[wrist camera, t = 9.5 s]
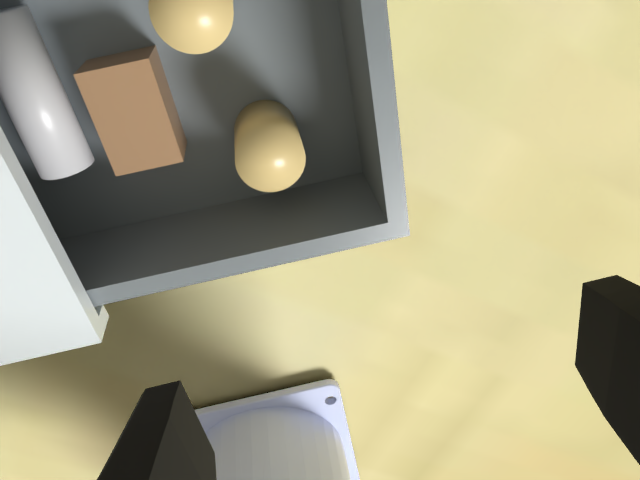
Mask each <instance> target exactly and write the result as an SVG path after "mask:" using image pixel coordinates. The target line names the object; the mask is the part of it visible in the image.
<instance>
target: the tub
mask: <svg viewBox="0 0 640 480" xmlns="http://www.w3.org/2000/svg"><path fill="white" fill-rule="evenodd" d="M0 126H1V128H2V130H3V132H4V134H5V136H6V138H7V140H8V142H9V144H10V146H11V148H12V150H13V152H14V153H15V155H16V157H17V159H18V161H19V163H20V165H21V167H22V169H23V171H24V173H25V175H26V177H27V179H28V181H29V182H30V184H31V186H32V188H33V190H34V192H35V194H36V196H37V198H38V200H39V202H40V204H41V206H42V208H43V209H44V211H45V213H46V215H47V217H48V219H49V221H50V223H51V225H52V227H53V229H54V231H55V233H56V235H57V237H58V238H59V240H60V242H61V244H62V246H63V248H64V250H65V252H66V254H67V256H68V258H69V260H70V262H71V264H72V266H73V267H74V269H75V271H76V273H77V275H78V277H79V279H80V281H81V283H82V285H83V287H84V289H85V291H86V293H87V294H88V296H89V298H90V300H91V302H92V304H93V306H94V307H95V306H100V305H104V304H109V303H113V302H117V301H122V300H126V299H131V298H135V297H140V296H144V295H148V294H153V293H157V292H162V291H166V290H171V289H175V288H180V287H184V286H188V285H193V284H197V283H202V282H206V281H211V280H215V279H219V278H224V277H228V276H233V275H237V274H242V273H246V272H250V271H255V270H259V269H264V268H268V267H273V266H277V265H281V264H286V263H290V262H295V261H299V260H304V259H308V258H312V257H317V256H321V255H326V254H330V253H335V252H339V251H343V250H348V249H352V248H357V247H361V246H366V245H370V244H374V243H379V242H383V241H388V240H392V239H397V238H401V237H405V236H410V231H409V221H408V211H407V201H406V191H405V181H404V171H403V161H402V151H401V140H400V130H399V120H398V110H397V100H396V90H395V80H394V70H393V60H392V50H391V40H390V30H389V20H388V10H387V0H0Z"/></svg>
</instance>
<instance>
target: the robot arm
mask: <svg viewBox="0 0 640 480" xmlns="http://www.w3.org/2000/svg"><path fill="white" fill-rule="evenodd" d="M575 366H576V368H577V370H578V371H579V373H580V375H581V377H582V379H583V380H584V382H585V384H586V386H587V388H588V390H589V391H590V393H591V395H592V397H593V398H594V400H595V402H596V403H597V405H598V407H599V408H600V410H601V412H602V414H603V415H604V417H605V418H606V420H607V421H608V422H609V424H610V425H611V427H612V428H613V429H614V431H615V432H616V434H617V435H618V436H619V438H620V439H621V440H622V442H623V443H624V444H625V446H626V447H627V448H628V450H629V451H630V453H631V454H632V455H633V457H634V458H635V459H636V461H637V462H638V463H639V465H640V286H638V285H636V284H634V283H632V282H630V281H628V280H626V279H624V278H622V277H620V276H618V275H615V276H610V277H606V278H602V279H598V280H594V281H590V282H586V283H583V287H582V298H581V308H580V318H579V329H578V339H577V350H576V360H575ZM332 396H333V397H332ZM328 397H331V398H328ZM97 480H360V478H359V473H358V469H357V464H356V460H355V455H354V451H353V446H352V442H351V437H350V433H349V429H348V424H347V420H346V415H345V411H344V406H343V402H342V397H341V393H340V388H339V384H338V382H337V381H335V380H333V379H325V380H321V381H316V382H312V383H308V384H303V385H299V386H295V387H291V388H286V389H282V390H278V391H273V392H269V393H265V394H260V395H256V396H252V397H247V398H243V399H239V400H234V401H230V402H226V403H222V404H217V405H213V406H209V407H204V408H200V409H196V410H194V408H193V406H192V404H191V402H190V400H189V398H188V396H187V394H186V392H185V390H184V387H183V385H182V383H181V381H176V382H172V383H168V384H164V385H160V386H155V387H151V388H147V389H145V391H144V392H143V394H142V395H141V397H140V399H139V401H138V403H137V405H136V407H135V409H134V411H133V413H132V415H131V417H130V418H129V420H128V422H127V424H126V426H125V428H124V430H123V432H122V434H121V436H120V438H119V440H118V442H117V444H116V445H115V447H114V449H113V451H112V453H111V455H110V457H109V459H108V460H107V462H106V464H105V466H104V468H103V470H102V472H101V473H100V475H99V477H98V479H97Z"/></svg>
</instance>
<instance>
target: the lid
mask: <svg viewBox="0 0 640 480" xmlns="http://www.w3.org/2000/svg"><path fill="white" fill-rule="evenodd" d="M108 318H109V315H108V313H107V311H106V309H105V307H104V305H100V306H95V307H94V306H93V304H92V302H91V300H90V298H89V296H88V294H87V293H86V291H85V289H84V287H83V285H82V283H81V281H80V279H79V277H78V275H77V273H76V271H75V269H74V267H73V266H72V264H71V262H70V260H69V258H68V256H67V254H66V252H65V250H64V248H63V246H62V244H61V242H60V240H59V238H58V237H57V235H56V233H55V231H54V229H53V227H52V225H51V223H50V221H49V219H48V217H47V215H46V213H45V211H44V209H43V208H42V206H41V204H40V202H39V200H38V198H37V196H36V194H35V192H34V190H33V188H32V186H31V184H30V182H29V181H28V179H27V177H26V175H25V173H24V171H23V169H22V167H21V165H20V163H19V161H18V159H17V157H16V155H15V153H14V152H13V150H12V148H11V146H10V144H9V142H8V140H7V138H6V136H5V134H4V132H3V130H2V128H1V126H0V366H2V365H6V364H10V363H15V362H19V361H24V360H28V359H32V358H37V357H41V356H46V355H50V354H54V353H59V352H63V351H68V350H72V349H76V348H81V347H85V346H90V345H94V344H98V343H101V342H102V339H103V336H104V332H105V329H106V325H107V322H108Z"/></svg>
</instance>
